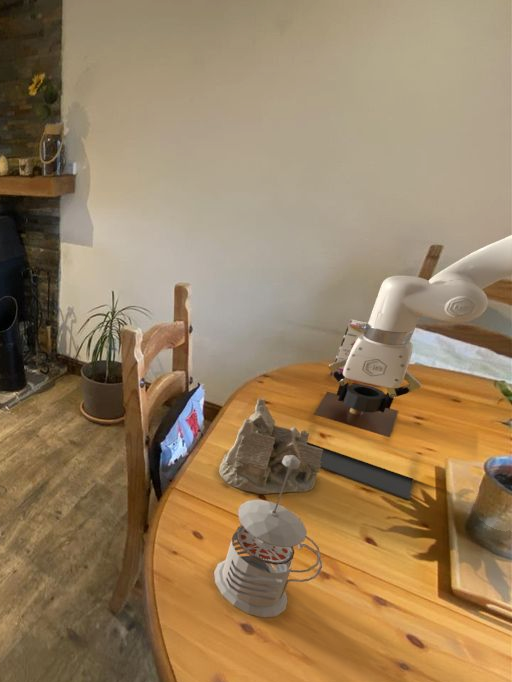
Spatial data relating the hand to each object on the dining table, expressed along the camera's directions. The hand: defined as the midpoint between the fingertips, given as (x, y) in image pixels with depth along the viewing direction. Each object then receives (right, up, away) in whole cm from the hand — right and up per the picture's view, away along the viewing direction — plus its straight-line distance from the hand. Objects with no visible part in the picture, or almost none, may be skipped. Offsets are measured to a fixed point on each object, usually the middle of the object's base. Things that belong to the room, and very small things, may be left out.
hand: (361, 403), depth 98 cm
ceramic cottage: (-31, -13, -13) cm, 37 cm away
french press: (-46, -25, -35) cm, 63 cm away
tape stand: (0, -3, +2) cm, 4 cm away
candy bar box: (+12, +4, +16) cm, 21 cm away
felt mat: (-10, -10, -10) cm, 18 cm away
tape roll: (0, 0, 0) cm, 0 cm away
